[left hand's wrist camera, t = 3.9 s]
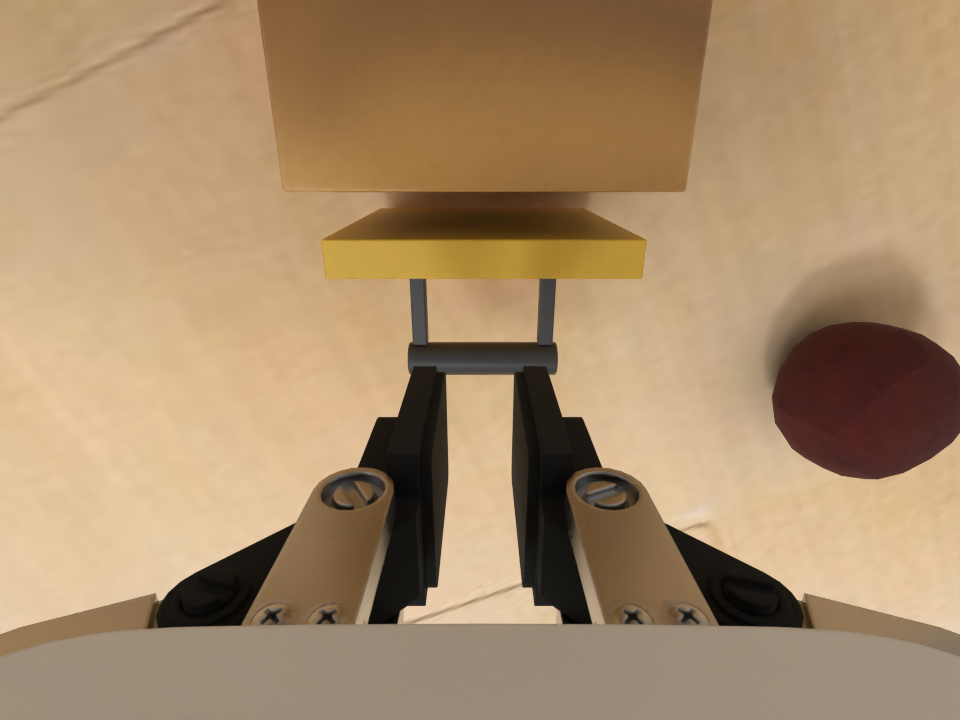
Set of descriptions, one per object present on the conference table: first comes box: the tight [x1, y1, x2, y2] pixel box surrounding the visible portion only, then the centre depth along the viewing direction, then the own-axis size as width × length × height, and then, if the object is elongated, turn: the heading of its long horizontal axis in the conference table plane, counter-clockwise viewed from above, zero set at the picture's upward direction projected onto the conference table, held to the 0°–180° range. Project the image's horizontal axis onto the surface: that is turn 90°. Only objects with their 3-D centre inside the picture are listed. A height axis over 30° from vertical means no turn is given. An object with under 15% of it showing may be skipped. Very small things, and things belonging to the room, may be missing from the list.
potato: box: [772, 322, 960, 479], centre depth 25 cm, size 7×8×7 cm
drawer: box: [321, 208, 646, 375], centre depth 17 cm, size 25×10×10 cm, turn 0°
